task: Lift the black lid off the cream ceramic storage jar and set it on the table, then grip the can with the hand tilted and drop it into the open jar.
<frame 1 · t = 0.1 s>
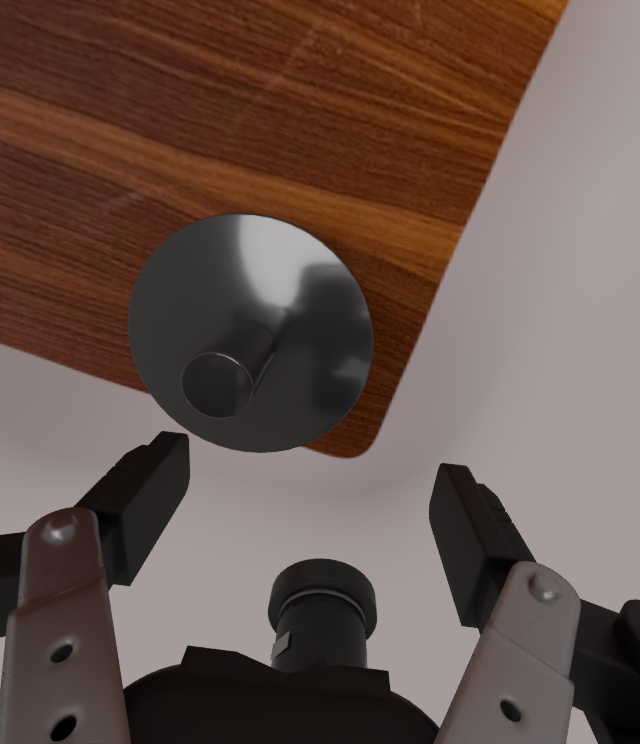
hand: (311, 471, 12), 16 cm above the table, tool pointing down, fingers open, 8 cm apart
lid: (252, 343, 17), point 10 cm above the table, touching jar
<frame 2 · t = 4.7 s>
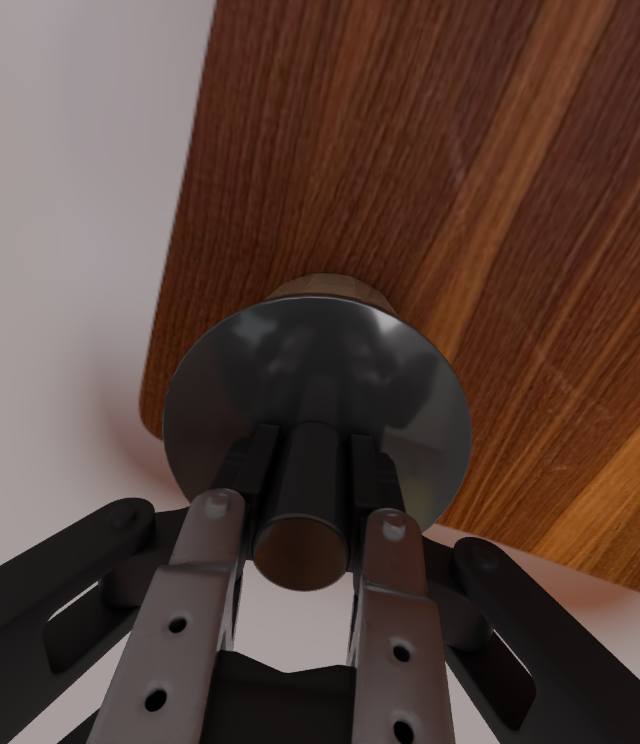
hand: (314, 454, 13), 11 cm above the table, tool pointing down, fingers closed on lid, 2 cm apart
jar: (325, 354, 23), on the table
lid: (314, 441, 13), point 11 cm above the table, touching gripper, jar
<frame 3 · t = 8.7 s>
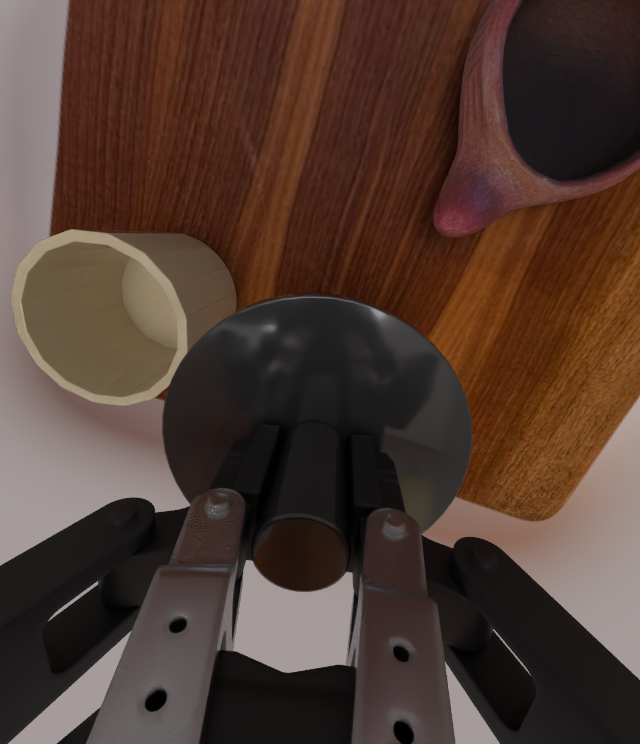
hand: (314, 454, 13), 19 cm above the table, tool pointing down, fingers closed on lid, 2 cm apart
jar: (177, 296, 31), on the table
bowl: (527, 132, 25), on the table
lid: (315, 442, 13), point 19 cm above the table, touching gripper
when the fingers open (1 cm above the table, at t = 12.7 s): lid stays where it is, point 1 cm above the table.
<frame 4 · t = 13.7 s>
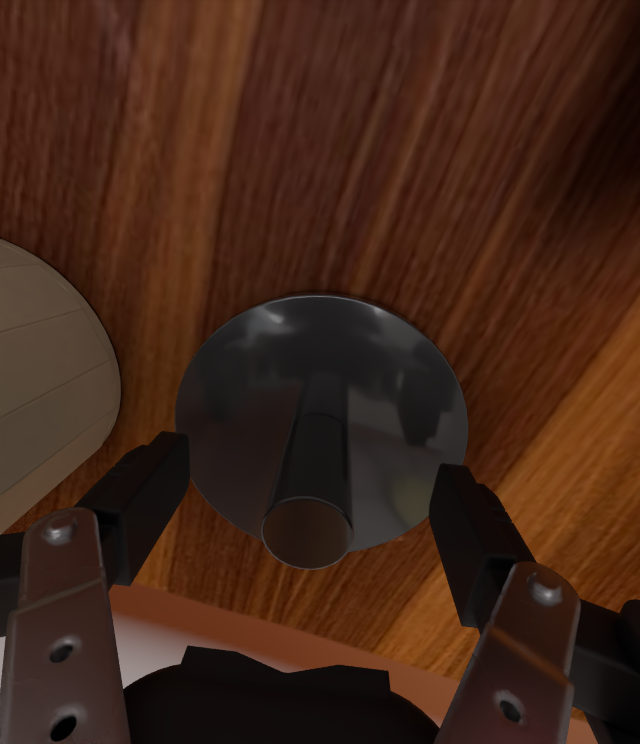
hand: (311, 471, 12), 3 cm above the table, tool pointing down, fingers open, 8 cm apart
lid: (319, 434, 14), point 1 cm above the table
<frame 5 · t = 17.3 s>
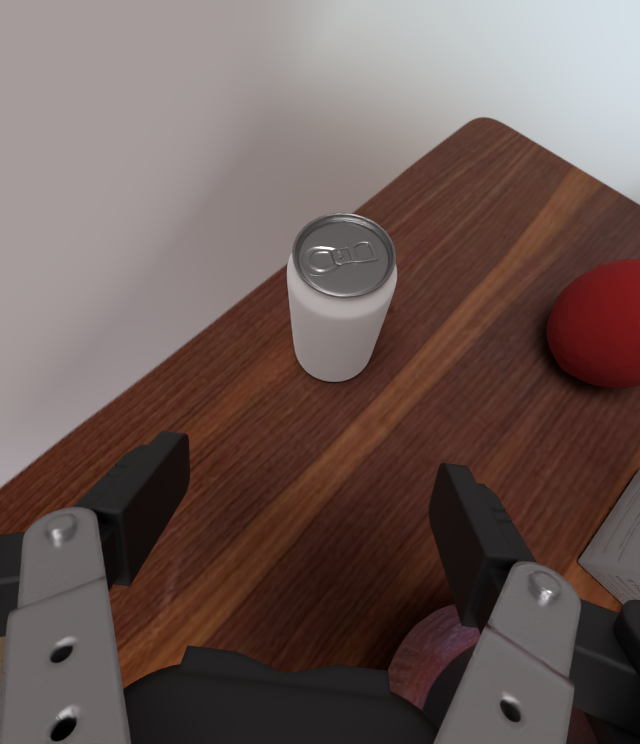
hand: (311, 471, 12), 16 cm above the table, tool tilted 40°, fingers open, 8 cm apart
can: (332, 349, 31), on the table
apple: (578, 350, 31), on the table
bowl: (453, 733, 22), on the table
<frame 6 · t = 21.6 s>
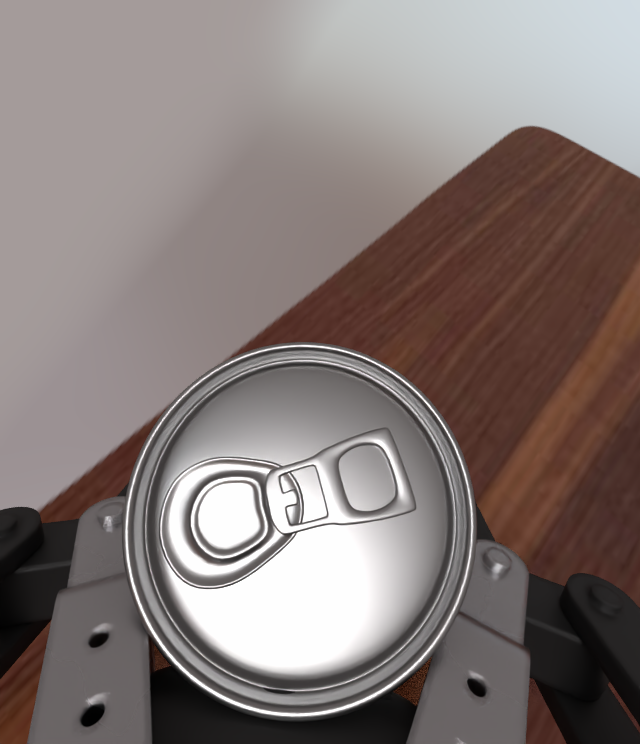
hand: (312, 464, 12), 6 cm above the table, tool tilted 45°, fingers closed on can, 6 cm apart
can: (306, 522, 17), on the table, touching gripper
when the fingers open (14 cm above the table, at t = 32.0 s): can drops 7 cm, resting on jar.
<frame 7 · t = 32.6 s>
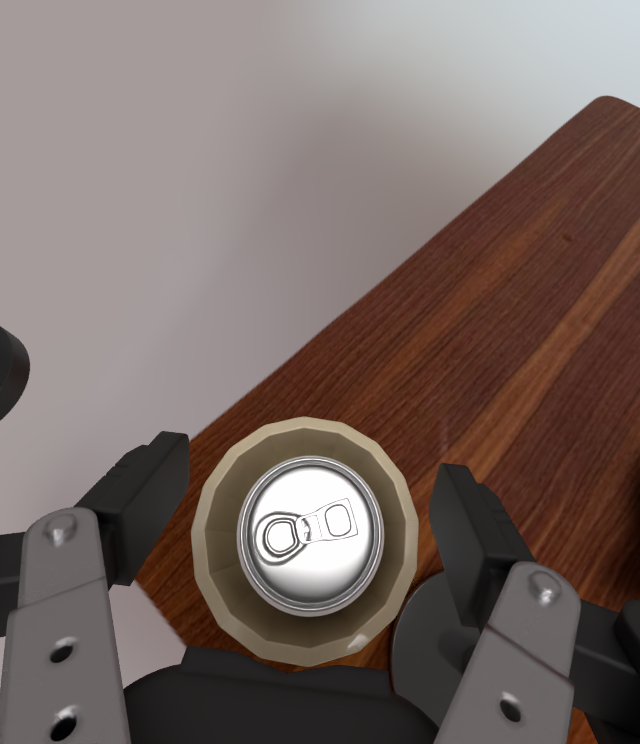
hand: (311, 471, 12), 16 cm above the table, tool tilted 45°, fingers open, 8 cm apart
can: (309, 533, 26), resting on jar
jar: (306, 530, 26), on the table
lid: (477, 666, 22), point 1 cm above the table
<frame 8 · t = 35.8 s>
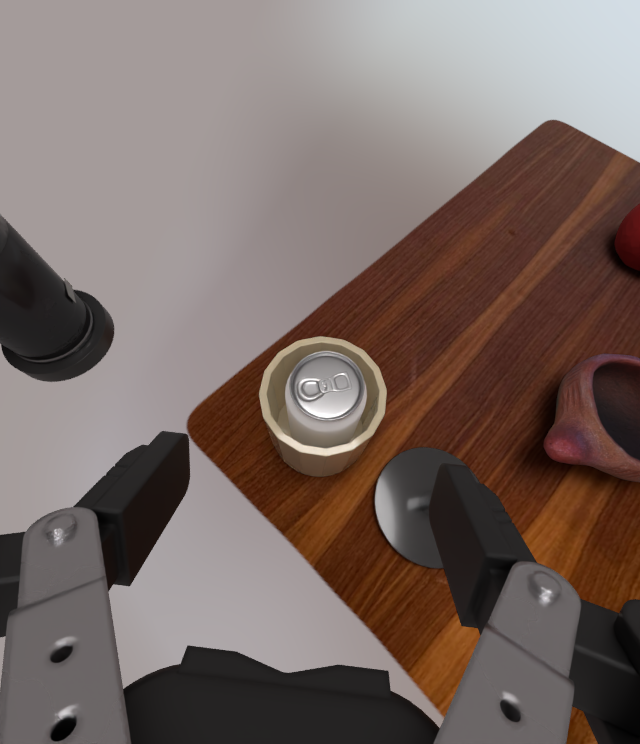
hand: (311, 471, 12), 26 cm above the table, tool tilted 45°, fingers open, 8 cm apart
can: (321, 428, 38), resting on jar
apple: (633, 257, 50), on the table
jar: (319, 427, 39), on the table
bowl: (587, 439, 39), on the table
lid: (429, 504, 35), point 1 cm above the table
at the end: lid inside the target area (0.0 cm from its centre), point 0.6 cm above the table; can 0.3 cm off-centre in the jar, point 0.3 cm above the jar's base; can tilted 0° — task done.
